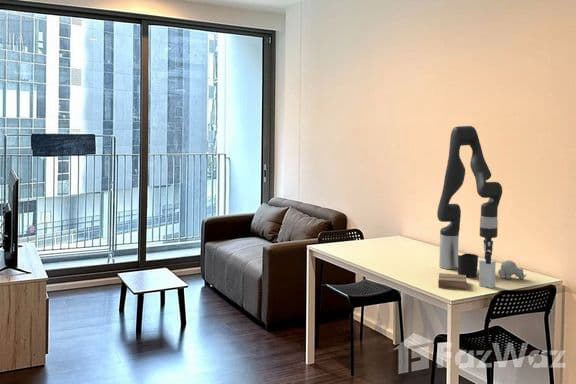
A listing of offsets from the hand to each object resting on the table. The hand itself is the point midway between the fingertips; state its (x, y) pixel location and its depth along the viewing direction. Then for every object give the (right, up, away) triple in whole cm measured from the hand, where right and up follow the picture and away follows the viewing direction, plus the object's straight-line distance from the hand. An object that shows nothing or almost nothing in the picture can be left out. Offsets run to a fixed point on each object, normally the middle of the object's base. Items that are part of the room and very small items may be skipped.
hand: (487, 261), depth 240 cm
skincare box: (0, -12, +2) cm, 12 cm away
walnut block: (-15, -12, +4) cm, 19 cm away
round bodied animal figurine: (+17, -10, +14) cm, 24 cm away
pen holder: (-2, -10, +20) cm, 22 cm away
